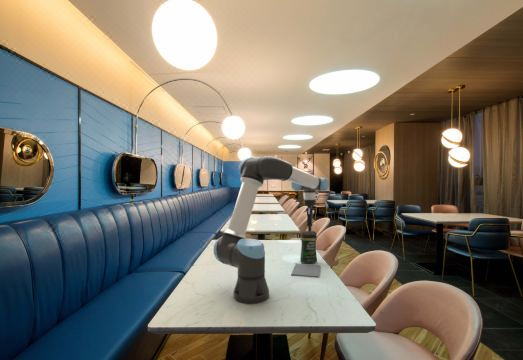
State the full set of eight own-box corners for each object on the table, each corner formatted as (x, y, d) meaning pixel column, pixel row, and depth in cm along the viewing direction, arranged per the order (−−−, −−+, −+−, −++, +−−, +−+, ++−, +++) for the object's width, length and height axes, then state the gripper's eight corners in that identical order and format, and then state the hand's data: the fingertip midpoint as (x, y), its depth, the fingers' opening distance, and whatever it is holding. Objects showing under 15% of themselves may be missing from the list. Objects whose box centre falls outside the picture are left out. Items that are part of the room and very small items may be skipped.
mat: (318, 277, 134) (318, 276, 134) (291, 275, 138) (291, 274, 138) (320, 266, 152) (320, 265, 152) (295, 264, 155) (295, 263, 155)
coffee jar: (302, 264, 155) (302, 232, 155) (299, 260, 163) (298, 230, 163) (318, 263, 156) (318, 232, 156) (314, 259, 164) (314, 229, 164)
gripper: (315, 200, 163) (315, 238, 163) (316, 198, 176) (316, 234, 176) (302, 199, 165) (303, 237, 165) (304, 198, 178) (305, 233, 178)
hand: (309, 236), depth 170 cm, fingers closed
